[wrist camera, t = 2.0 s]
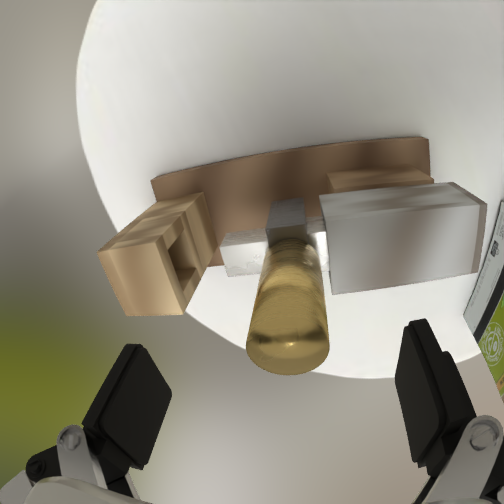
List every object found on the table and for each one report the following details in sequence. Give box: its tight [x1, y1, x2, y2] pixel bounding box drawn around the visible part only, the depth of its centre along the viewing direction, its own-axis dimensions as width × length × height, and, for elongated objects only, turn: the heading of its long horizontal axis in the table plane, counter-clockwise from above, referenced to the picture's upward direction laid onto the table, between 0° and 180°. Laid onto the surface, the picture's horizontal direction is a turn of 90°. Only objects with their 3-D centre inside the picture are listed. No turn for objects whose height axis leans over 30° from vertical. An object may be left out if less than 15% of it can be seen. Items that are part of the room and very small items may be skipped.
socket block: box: [97, 192, 218, 316], centre depth 21 cm, size 4×5×10 cm
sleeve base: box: [151, 137, 487, 295], centre depth 20 cm, size 24×9×11 cm, turn 102°
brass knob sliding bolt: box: [219, 197, 330, 375], centre depth 14 cm, size 14×4×10 cm, turn 102°
